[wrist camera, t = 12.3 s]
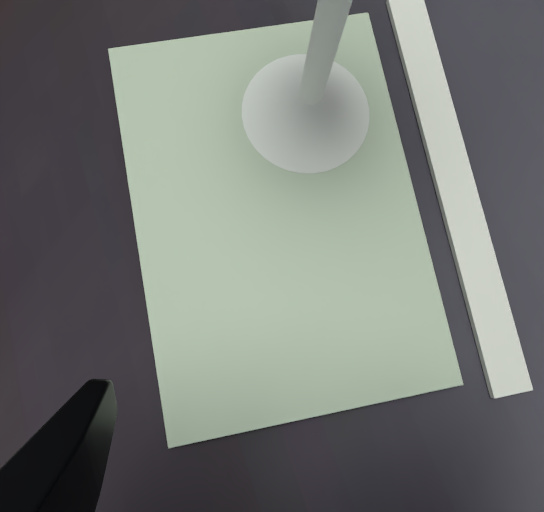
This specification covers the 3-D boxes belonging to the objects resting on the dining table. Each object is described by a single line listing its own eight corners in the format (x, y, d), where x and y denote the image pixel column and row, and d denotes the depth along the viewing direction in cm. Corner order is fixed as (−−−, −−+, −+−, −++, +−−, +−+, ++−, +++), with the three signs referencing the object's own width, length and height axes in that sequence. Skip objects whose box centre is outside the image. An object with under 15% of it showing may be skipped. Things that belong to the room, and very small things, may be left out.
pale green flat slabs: (528, 389, 23) (538, 391, 22) (174, 466, 22) (171, 471, 21) (419, -2, 27) (424, -12, 26) (109, 41, 25) (105, 31, 25)
